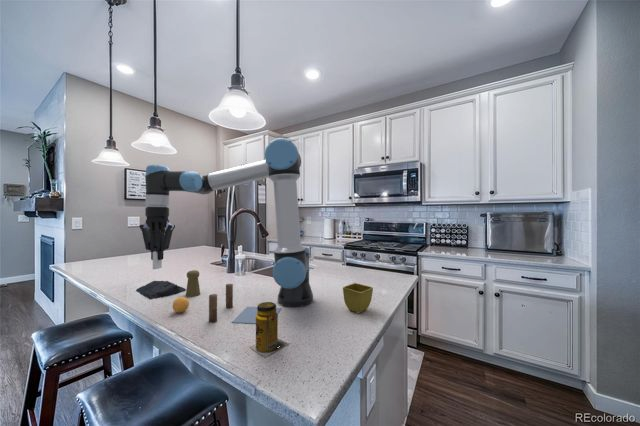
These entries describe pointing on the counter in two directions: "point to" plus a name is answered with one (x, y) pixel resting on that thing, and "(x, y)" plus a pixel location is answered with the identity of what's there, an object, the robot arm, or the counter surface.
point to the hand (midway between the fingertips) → (157, 268)
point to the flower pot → (357, 296)
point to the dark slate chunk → (159, 289)
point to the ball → (180, 304)
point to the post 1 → (212, 308)
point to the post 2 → (229, 295)
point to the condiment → (267, 330)
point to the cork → (192, 284)
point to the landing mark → (249, 315)
